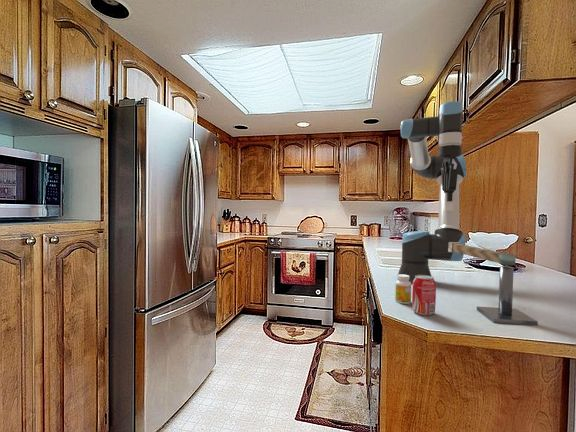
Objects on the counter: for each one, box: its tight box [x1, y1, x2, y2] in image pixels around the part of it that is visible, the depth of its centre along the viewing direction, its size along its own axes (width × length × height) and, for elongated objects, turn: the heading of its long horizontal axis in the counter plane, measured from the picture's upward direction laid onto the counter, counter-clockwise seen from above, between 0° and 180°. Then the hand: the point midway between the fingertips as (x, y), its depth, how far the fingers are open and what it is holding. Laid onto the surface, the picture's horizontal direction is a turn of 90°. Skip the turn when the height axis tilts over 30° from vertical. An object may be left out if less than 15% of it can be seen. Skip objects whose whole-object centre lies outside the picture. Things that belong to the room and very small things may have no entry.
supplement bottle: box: [394, 274, 412, 305], centre depth 117 cm, size 5×5×10 cm
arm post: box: [476, 265, 539, 326], centre depth 102 cm, size 12×12×16 cm
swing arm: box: [448, 242, 517, 266], centre depth 115 cm, size 32×4×4 cm, turn 3°
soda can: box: [411, 275, 437, 316], centre depth 105 cm, size 7×7×12 cm
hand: (448, 210), depth 118 cm, fingers closed
